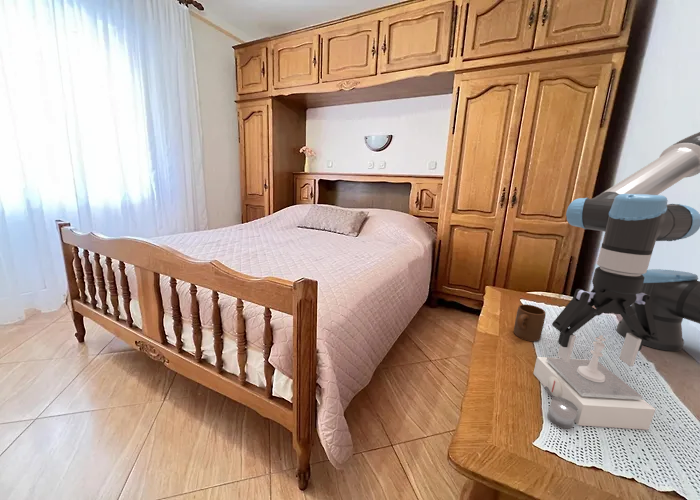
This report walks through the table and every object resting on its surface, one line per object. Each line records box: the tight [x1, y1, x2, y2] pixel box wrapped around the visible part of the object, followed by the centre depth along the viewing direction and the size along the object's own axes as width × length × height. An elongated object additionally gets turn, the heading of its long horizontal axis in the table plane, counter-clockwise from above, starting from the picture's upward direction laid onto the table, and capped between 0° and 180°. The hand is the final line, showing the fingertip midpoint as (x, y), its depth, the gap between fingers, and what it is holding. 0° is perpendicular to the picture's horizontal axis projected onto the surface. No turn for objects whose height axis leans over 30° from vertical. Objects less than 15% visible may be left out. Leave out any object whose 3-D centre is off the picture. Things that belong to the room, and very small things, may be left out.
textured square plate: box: [546, 357, 644, 400], centre depth 65 cm, size 12×12×1 cm
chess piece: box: [577, 334, 607, 383], centre depth 64 cm, size 5×5×10 cm
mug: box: [513, 303, 547, 342], centre depth 90 cm, size 12×8×9 cm, turn 126°
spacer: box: [547, 397, 578, 430], centre depth 59 cm, size 4×4×4 cm
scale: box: [533, 356, 656, 431], centre depth 66 cm, size 14×16×5 cm
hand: (594, 360), depth 64 cm, fingers open, 13 cm apart
